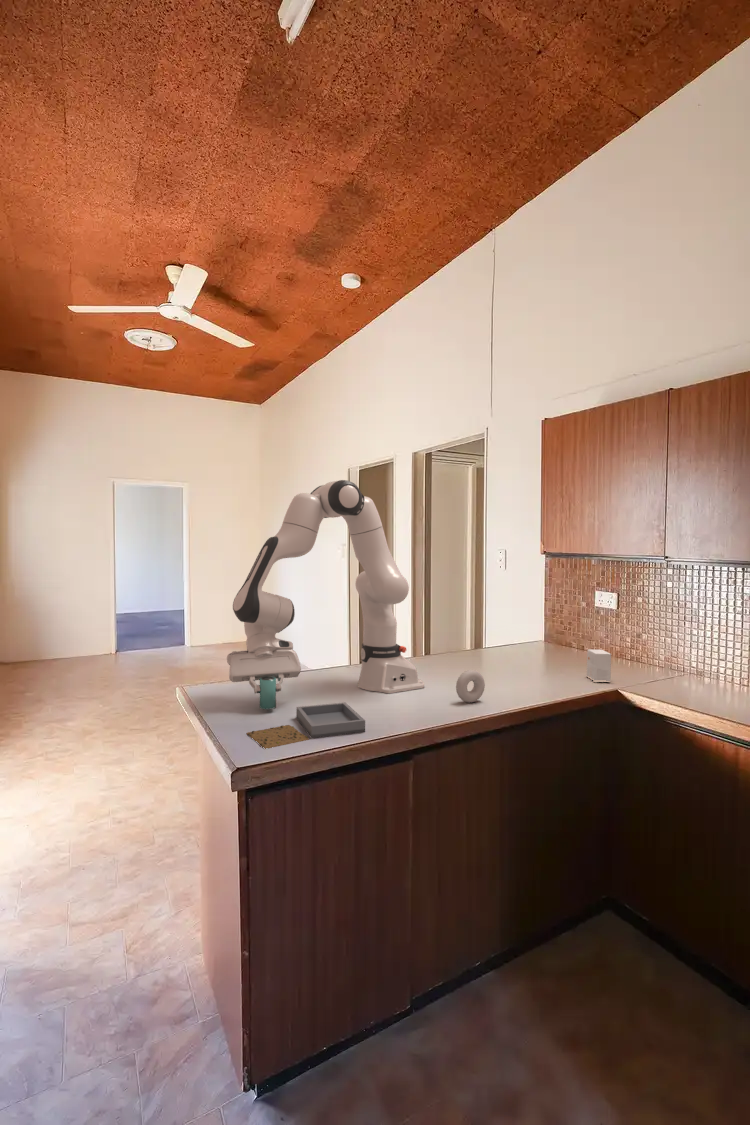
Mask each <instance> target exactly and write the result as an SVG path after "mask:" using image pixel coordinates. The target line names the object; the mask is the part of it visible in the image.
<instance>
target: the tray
mask: <svg viewBox="0 0 750 1125" xmlns="http://www.w3.org/2000/svg"><path fill="white" fill-rule="evenodd" d="M295 709H296V710H295V711H296V712H295V713H296V714H295V715H296V719H297V721H298V722H299V724H300V725H301V726H302V728H303V729H304V730H305V732H306V733H307V734H308V737H310V738H311V739H319V738H326V737H333V736H334V737H335V736H342V735H343V736H344V735H352V734H353V735H354V734H361V733H365V732H366V720H365V719H364V718H363V717H362V716H361V715H360V714H359V713H358V712H357V711H355V709H353V708H352V707H351V706H350V704H348V703H347V702H344V701H343V702H334V703H325V704H315V705H305V706H303V705H302V706H296V708H295Z"/></svg>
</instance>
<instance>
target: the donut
mask: <svg viewBox="0 0 750 1125" xmlns="http://www.w3.org/2000/svg"><path fill="white" fill-rule="evenodd" d="M471 682H473V687H472V689H471V690H468V685H469V683H471ZM485 686H486V683H485V679H484V676H483V675H482V673H480V672H479V671H478V670H476V669H467V670H465V671H464V672H462V673H461V674H460V675H459V677H458V678H457V680H456V686H455V690H456V691H455V692H456V694H457V696H458V698H459V699H460V700H461V701H463V702H465V703H470V702H471V703H474V702H476V701H477V702H478V700H479V699H480V698H481V697H482V696H483V694H484V691H485Z"/></svg>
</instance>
